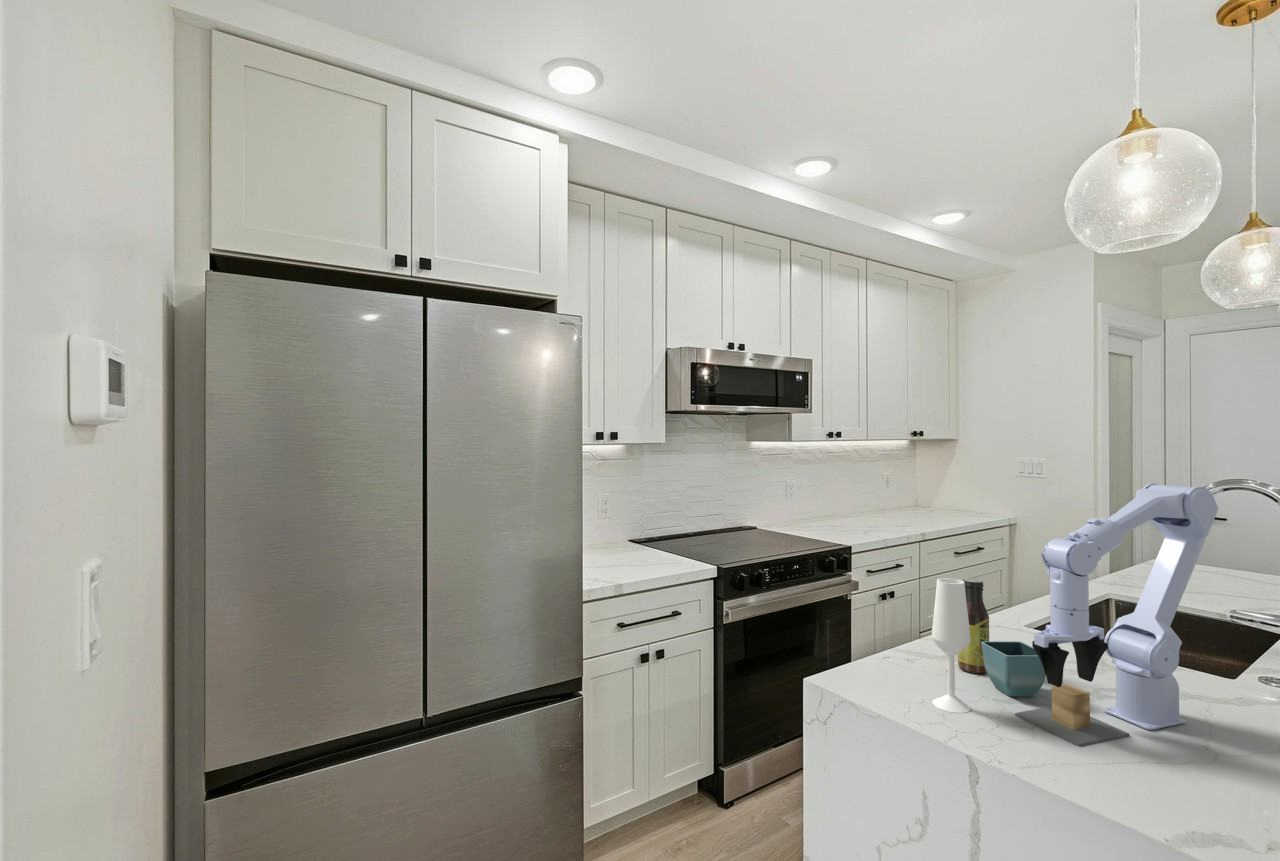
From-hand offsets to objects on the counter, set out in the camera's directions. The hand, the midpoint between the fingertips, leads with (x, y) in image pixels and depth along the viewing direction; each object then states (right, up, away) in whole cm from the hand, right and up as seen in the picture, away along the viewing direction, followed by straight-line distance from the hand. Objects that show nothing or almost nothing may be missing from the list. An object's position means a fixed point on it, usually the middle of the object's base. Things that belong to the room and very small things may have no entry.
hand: (1070, 682), depth 110 cm
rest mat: (0, -8, 0) cm, 8 cm away
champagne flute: (-17, -8, +8) cm, 21 cm away
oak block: (0, -7, 0) cm, 7 cm away
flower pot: (-1, -8, +14) cm, 16 cm away
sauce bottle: (-3, -8, +26) cm, 28 cm away
